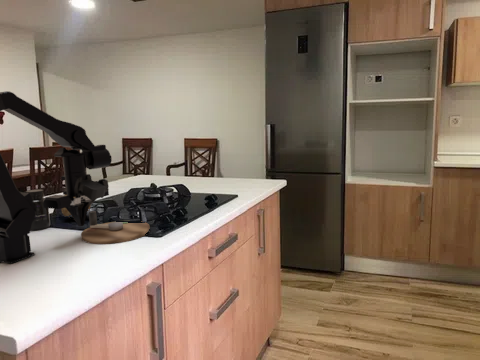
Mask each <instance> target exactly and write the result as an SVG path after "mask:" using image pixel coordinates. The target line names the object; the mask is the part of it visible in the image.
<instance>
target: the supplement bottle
mask: <svg viewBox="0 0 480 360" xmlns="http://www.w3.org/2000/svg"><path fill="white" fill-rule="evenodd" d="M25 193H29V194H30V195H31V197H32V201H33V203H34V205H35V206H36V207H37V208H34V209H35V211H36V217H35V219H34V221H33V222H32V225H31V230H30V231H40V230H41V231H42V230H45V229H48V228H50V227H51V219H50V218H51V217H50V208H44V206H43V200H44V199H45V194H44V189H30V190H26V191H25Z"/></svg>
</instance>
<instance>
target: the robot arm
mask: <svg viewBox="0 0 480 360" xmlns="http://www.w3.org/2000/svg"><path fill="white" fill-rule="evenodd" d="M2 111H5V112H6V113H8V114H10V115H12V116H15V117H16V118H18V119H20V120H22V121H24V122H26V123H28V124H29V125H31V126H33V127H35V128H37V129H39V130H41V131H43V132H44V133H46V134H47V135H48V136H49V137H50V138H51V139H52V140H53V141H54V142H55V143H56V144H58V145H59V146H61V147H59V148H58V150H57V151H56V152H55V153H54V154H53V156H54V157H57V158H62V165H63V172H64V174H63V175H61V177H60V178H61V181H64V184H65V190H62V194H54V195H53V194H52V195H50V196H44V198H45V199H44V200H43V206H44V208H49V209H55V210H60V209H62V208H66V209H67V210H68V211H69V213H70V214H71V215H72V217H73V218H74V219H73V220H74V221H75V223H76V225H78V227H83V226H85V221H86V218H87V214H88V212H89V210H88V208H89V206H90V205H91V206H92V204H93V203H95V202H96V200H98V199H103V198H105V197H107V196H109V195H110V194H109V190H110V189H109V182H108V180H107V179H106V178H102V179H99V180H93V179H92V175H91V173H90V174H89V173H87V169H88V170H97V169H102V168H108V167H109V166H111V164H112V160H113V159H112V155H111V154H110V151H109V150H108V149H107V146H106V144H96V145H95V144H94V143H93V141H92V140H91V139H90V138H89V137H88V135H87V131H86V129H85V128H84V127H82V126H79V125H77V124H73V123H72V122H68V121H65V120H64V121H63V120H60V119H58V118H56V117H54V116H52V115H51V114H49V113H48V112H45V111H43V110H42V109H40V108H38V107H36V106H34V105H33V104H32V103H30V102H28V101H26V100H24V99H22V98H21V97H19V96H17V95H16V94H15V93H14V92H11V91H0V112H2ZM67 148H70V149H67ZM80 151H81V152H80ZM74 197H75V198H74ZM34 208H37V207H36V206H35V205H34V203H33V201H32V197H31V195H30V194H29V193H26V192H22V191H19V189H18V187H17V186H16V184H15V181H14V179H13V178H12V176H11V172H10V171H9V169H8V167H7V164H6V163H5V160H4V157H3V156H2V154H1V153H0V263H7V264H14V263H17V262H19V261H22V260H25V259H26V258H29V257H33V256H35V252H34V251H32V246H31V241H30V235H29V234H30V233H31V231H32V230H31V225H32V222H33V221H34V219H35V217H36V211H35V209H34Z"/></svg>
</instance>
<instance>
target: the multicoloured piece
mask: <svg viewBox="0 0 480 360" xmlns="http://www.w3.org/2000/svg"><path fill="white" fill-rule="evenodd" d="M88 217H89V218H88V219H89V228H109V230H120V229H123V222H116V221H111V222H112V223H109V222H108V223H109V224H104V223H98V217H97V211H96V210H95V211H94V210H93V211H88Z"/></svg>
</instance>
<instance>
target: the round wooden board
mask: <svg viewBox="0 0 480 360" xmlns="http://www.w3.org/2000/svg"><path fill="white" fill-rule="evenodd" d="M112 222H113V221H111V222H105V223H104V222H103V224H109V223H112ZM149 229H150V224H149V223H147V222H145V223H128V222H123V229H120V230H109V228H90V227H88V228H86V229H84V230H83V231H81V233H80V236H81V240H82V242H84V243H88V244H95V245H108V244H109V245H111V244H120V243H124V242H125V243H126V242H130V241H134V240H137V239H140V238H142V237H145V236H146V235H147V234H146V233H147V232H148V231H149ZM149 232H150V231H149ZM145 234H146V235H145Z"/></svg>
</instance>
